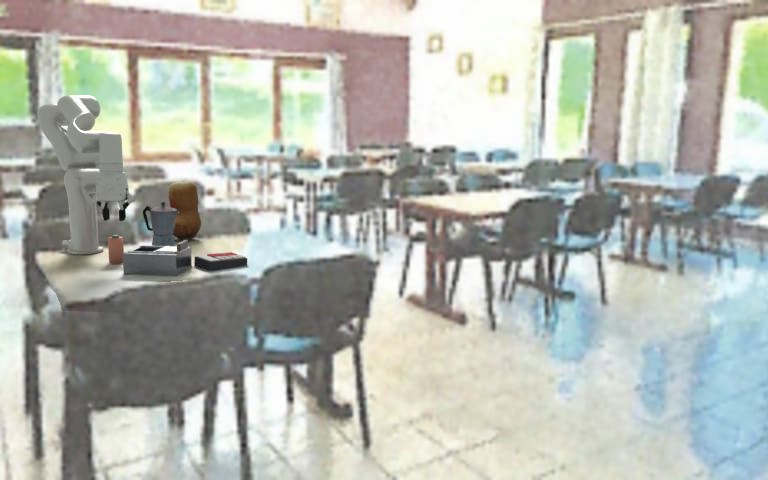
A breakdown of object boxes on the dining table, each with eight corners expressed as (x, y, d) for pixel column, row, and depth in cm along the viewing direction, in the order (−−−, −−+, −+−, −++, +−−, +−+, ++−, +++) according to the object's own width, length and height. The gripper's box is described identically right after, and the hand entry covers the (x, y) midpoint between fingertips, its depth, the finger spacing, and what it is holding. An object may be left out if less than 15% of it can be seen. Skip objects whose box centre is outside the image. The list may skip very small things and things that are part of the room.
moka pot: (174, 258, 247) (172, 204, 244) (136, 255, 250) (133, 202, 247) (187, 253, 256) (185, 201, 253) (150, 250, 259) (147, 199, 256)
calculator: (247, 256, 238) (209, 259, 227) (247, 268, 238) (209, 272, 228) (231, 251, 246) (194, 254, 235) (231, 262, 246) (193, 266, 236)
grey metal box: (123, 274, 222) (122, 252, 221) (141, 264, 236) (140, 244, 234) (176, 276, 221) (175, 254, 219) (191, 266, 234) (191, 246, 233)
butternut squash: (163, 239, 283) (161, 180, 279) (192, 235, 292) (190, 178, 288) (178, 244, 273) (176, 182, 269) (208, 240, 282) (206, 181, 278)
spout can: (106, 263, 236) (105, 236, 234) (114, 260, 242) (112, 233, 240) (120, 264, 236) (118, 237, 234) (127, 260, 242) (126, 234, 240)
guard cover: (156, 252, 223) (155, 243, 222) (166, 247, 231) (165, 239, 230) (179, 253, 222) (179, 244, 222) (188, 248, 230) (188, 239, 230)
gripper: (82, 168, 229) (85, 221, 233) (130, 170, 228) (133, 222, 231) (93, 167, 237) (96, 218, 240) (140, 168, 235) (142, 219, 239)
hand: (114, 219), depth 236 cm, fingers open, 4 cm apart
